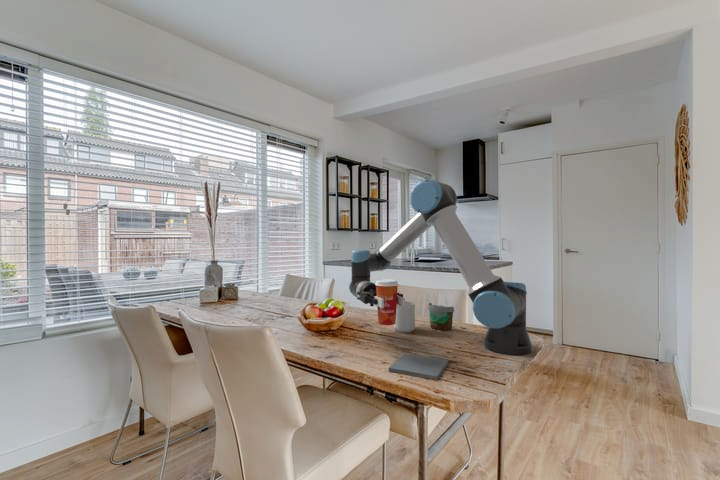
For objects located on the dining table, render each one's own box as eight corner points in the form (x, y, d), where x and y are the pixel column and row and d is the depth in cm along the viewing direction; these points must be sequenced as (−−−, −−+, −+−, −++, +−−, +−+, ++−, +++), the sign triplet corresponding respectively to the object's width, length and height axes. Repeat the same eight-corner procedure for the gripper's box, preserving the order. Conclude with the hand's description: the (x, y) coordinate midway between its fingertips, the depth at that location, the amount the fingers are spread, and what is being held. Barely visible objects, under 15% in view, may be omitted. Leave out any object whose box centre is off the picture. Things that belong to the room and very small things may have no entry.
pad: (448, 363, 108) (448, 360, 108) (436, 379, 96) (436, 376, 95) (404, 356, 114) (404, 353, 114) (388, 371, 102) (388, 367, 102)
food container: (421, 327, 150) (421, 304, 150) (430, 325, 154) (430, 302, 154) (445, 333, 141) (445, 308, 141) (454, 330, 145) (454, 306, 145)
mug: (410, 334, 140) (410, 306, 140) (389, 331, 145) (389, 304, 145) (420, 327, 151) (420, 301, 151) (401, 324, 155) (401, 299, 155)
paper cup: (370, 323, 115) (370, 281, 115) (382, 319, 121) (382, 278, 121) (391, 327, 111) (391, 282, 111) (403, 322, 117) (403, 280, 117)
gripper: (392, 300, 136) (421, 312, 114) (343, 303, 130) (364, 317, 108) (392, 281, 136) (421, 289, 114) (343, 283, 130) (364, 292, 108)
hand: (393, 303), depth 111 cm, fingers closed on paper cup, 6 cm apart
